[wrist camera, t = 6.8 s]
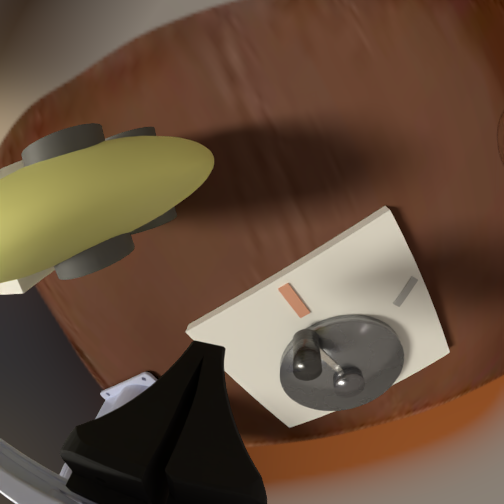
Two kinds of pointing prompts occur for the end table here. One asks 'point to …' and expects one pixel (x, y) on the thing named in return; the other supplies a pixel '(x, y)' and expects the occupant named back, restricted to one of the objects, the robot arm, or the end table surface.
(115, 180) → the emoji
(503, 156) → the beer glass
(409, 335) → the base plate
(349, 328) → the cam dial
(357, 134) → the end table surface
